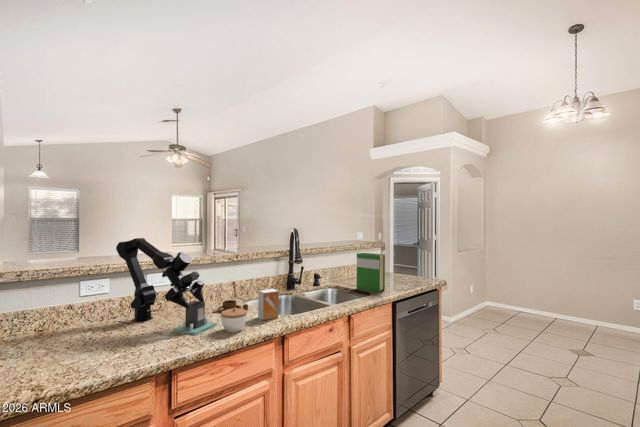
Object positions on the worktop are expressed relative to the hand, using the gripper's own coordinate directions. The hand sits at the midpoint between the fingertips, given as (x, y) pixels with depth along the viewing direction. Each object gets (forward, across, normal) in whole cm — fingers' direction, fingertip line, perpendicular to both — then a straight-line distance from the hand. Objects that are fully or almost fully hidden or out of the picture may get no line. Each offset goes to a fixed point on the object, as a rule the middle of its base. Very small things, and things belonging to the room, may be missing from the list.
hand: (196, 305), depth 141 cm
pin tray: (+7, 0, +7) cm, 10 cm away
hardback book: (+46, +105, -32) cm, 119 cm away
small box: (+22, +25, -8) cm, 35 cm away
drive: (+6, 0, +7) cm, 9 cm away
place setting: (+7, +26, +8) cm, 28 cm away
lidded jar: (+19, +4, -4) cm, 20 cm away
